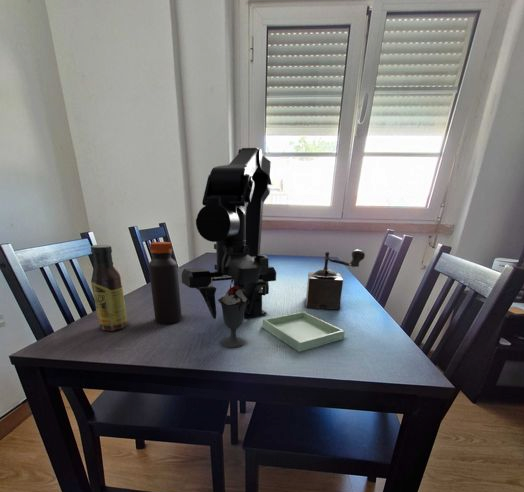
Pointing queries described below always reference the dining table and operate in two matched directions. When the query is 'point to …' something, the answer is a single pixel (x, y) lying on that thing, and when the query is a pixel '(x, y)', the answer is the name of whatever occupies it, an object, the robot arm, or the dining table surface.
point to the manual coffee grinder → (328, 284)
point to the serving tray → (303, 330)
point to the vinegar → (164, 284)
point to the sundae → (233, 313)
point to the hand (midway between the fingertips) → (231, 315)
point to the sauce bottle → (107, 290)
